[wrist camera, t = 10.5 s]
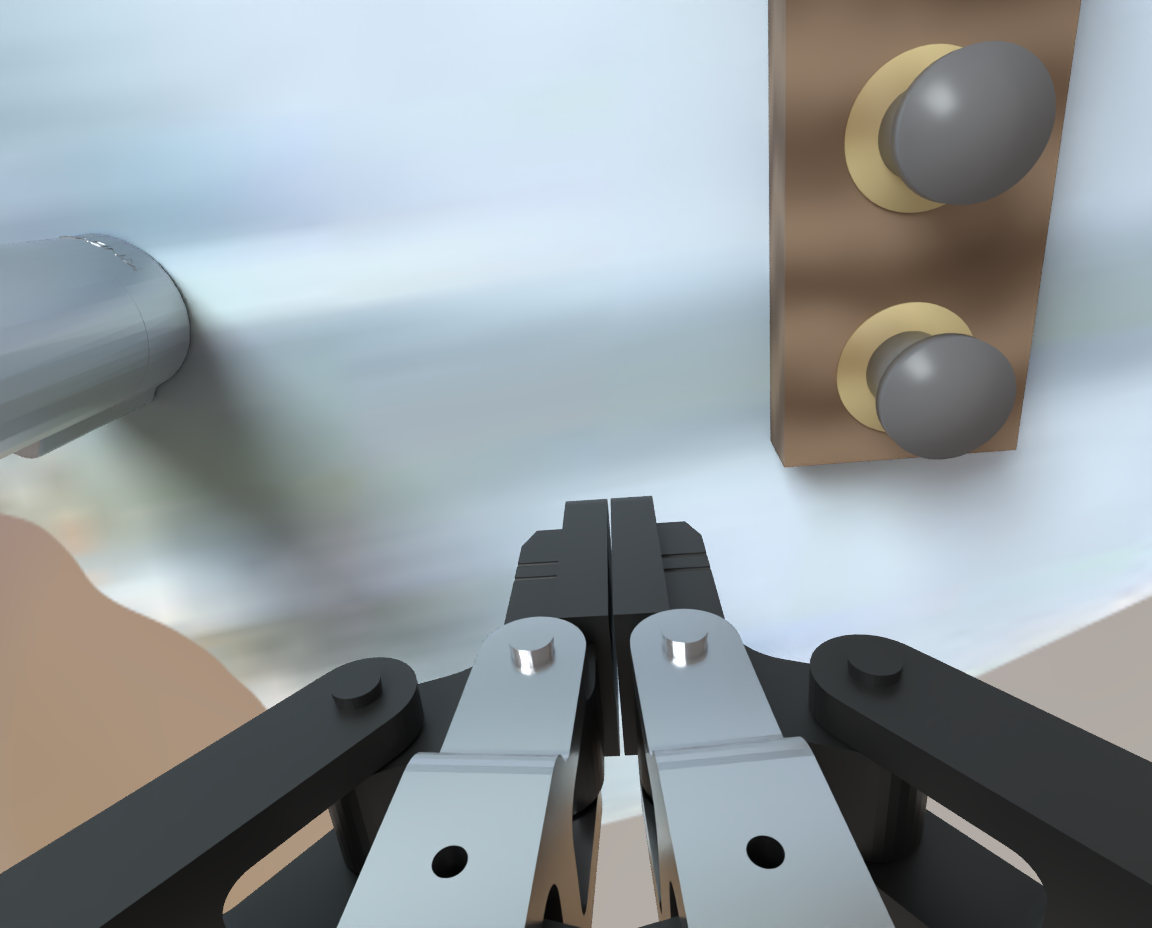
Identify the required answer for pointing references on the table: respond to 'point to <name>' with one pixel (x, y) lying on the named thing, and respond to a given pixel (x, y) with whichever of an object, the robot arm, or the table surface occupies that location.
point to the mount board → (888, 214)
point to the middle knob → (970, 123)
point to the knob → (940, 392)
